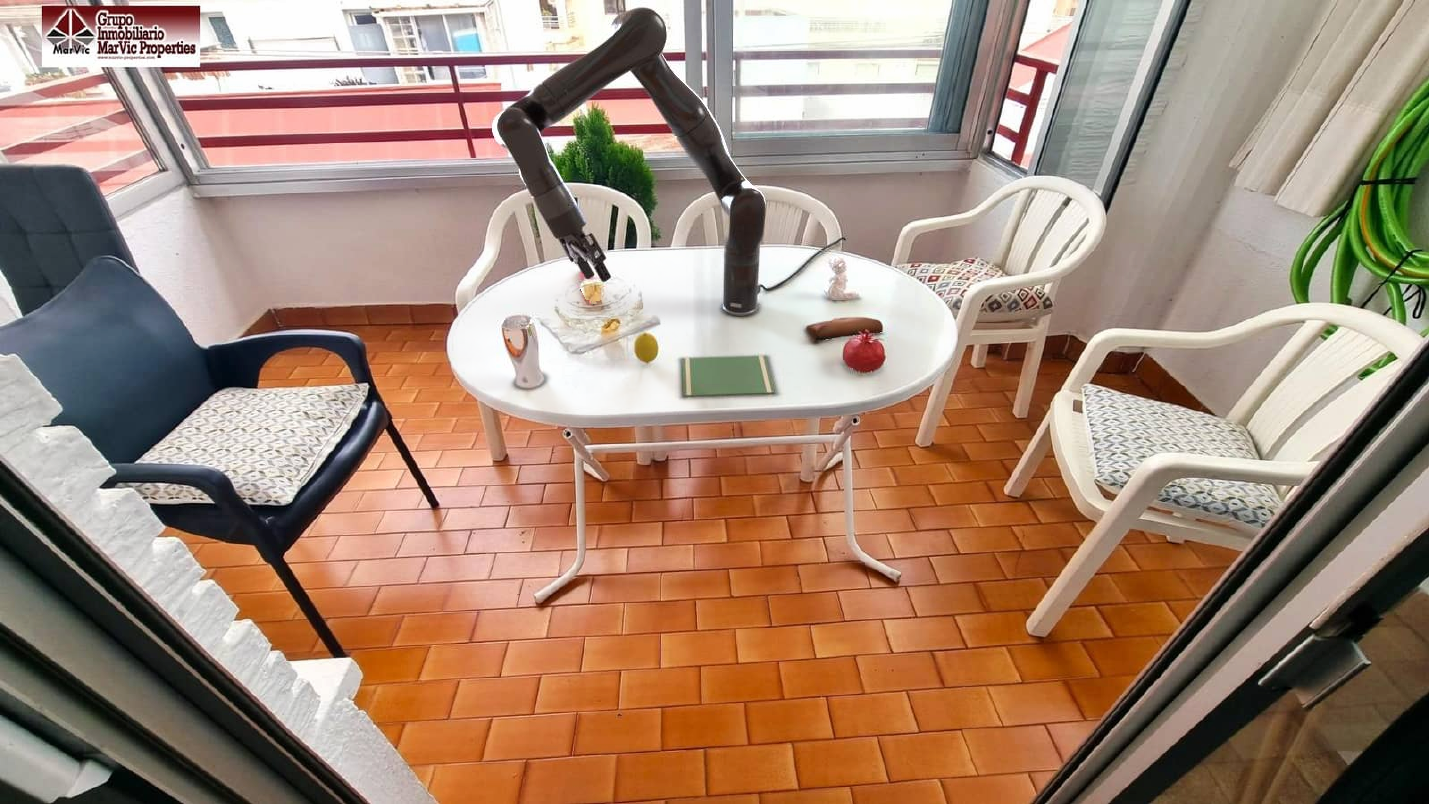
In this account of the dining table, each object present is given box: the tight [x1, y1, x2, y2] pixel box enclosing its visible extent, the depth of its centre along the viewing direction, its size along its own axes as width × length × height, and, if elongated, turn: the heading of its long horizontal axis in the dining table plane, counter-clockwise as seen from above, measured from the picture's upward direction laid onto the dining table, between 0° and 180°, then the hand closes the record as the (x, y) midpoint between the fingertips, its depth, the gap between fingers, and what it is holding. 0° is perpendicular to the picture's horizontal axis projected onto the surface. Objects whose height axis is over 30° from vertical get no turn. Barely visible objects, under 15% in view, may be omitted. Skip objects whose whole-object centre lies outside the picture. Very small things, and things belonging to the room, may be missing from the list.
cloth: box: [681, 355, 776, 398], centre depth 132 cm, size 15×20×1 cm
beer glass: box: [500, 314, 545, 389], centre depth 125 cm, size 7×7×15 cm
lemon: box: [633, 332, 659, 364], centre depth 134 cm, size 6×6×8 cm
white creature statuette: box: [823, 255, 860, 301], centre depth 161 cm, size 10×9×12 cm
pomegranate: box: [842, 330, 887, 374], centre depth 132 cm, size 10×10×9 cm
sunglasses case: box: [805, 316, 884, 343], centre depth 147 cm, size 18×7×7 cm
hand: (598, 278), depth 127 cm, fingers open, 8 cm apart
